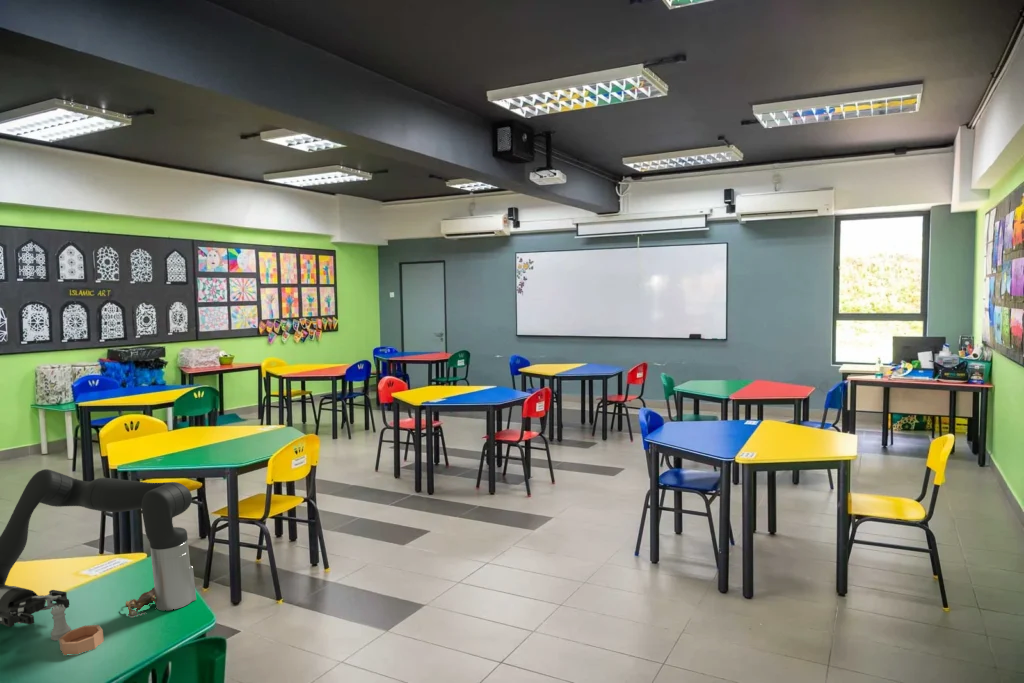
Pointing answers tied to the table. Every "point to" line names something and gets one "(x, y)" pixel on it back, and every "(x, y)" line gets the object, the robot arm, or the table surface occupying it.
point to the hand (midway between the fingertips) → (50, 611)
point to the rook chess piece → (59, 622)
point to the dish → (81, 639)
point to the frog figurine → (140, 602)
